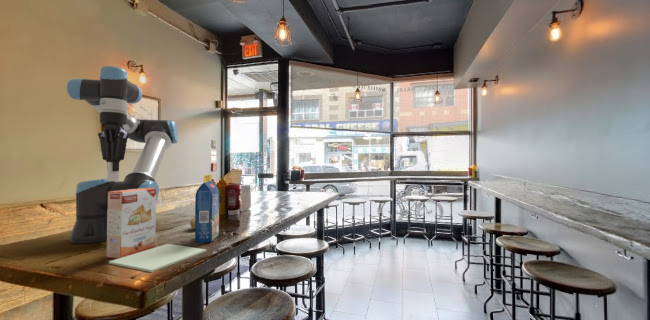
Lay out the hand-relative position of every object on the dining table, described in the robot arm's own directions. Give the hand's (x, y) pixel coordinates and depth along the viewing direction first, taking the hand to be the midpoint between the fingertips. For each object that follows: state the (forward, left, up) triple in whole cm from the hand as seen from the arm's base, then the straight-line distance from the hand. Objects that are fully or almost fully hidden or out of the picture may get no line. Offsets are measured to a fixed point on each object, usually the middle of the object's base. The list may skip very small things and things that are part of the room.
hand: (113, 180), depth 101 cm
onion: (+5, +34, -24) cm, 42 cm away
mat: (+23, 0, -24) cm, 33 cm away
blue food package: (+20, +23, -24) cm, 39 cm away
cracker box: (+10, 0, -24) cm, 26 cm away
